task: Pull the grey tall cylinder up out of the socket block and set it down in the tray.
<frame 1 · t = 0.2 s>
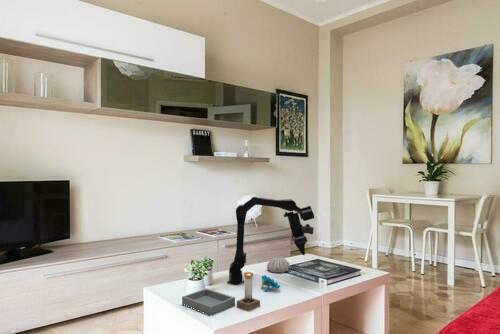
hand: (302, 252, 182), 15 cm above the table, tool pointing down, fingers open, 9 cm apart
socket block: (248, 306, 150), on the table
tray: (208, 305, 152), on the table
blue irregular piece: (269, 290, 172), on the table
grey tall cylinder: (248, 290, 150), in the socket block
sea urchin shell: (278, 271, 204), on the table
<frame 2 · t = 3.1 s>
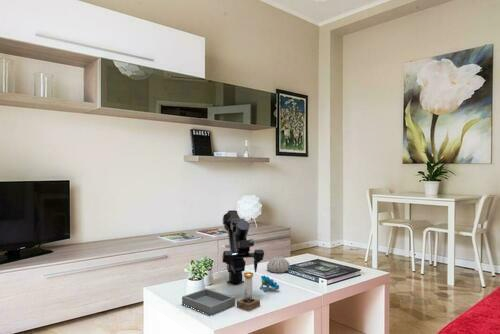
hand: (245, 272, 156), 13 cm above the table, tool tilted 45°, fingers open, 9 cm apart
nothing on the table moved.
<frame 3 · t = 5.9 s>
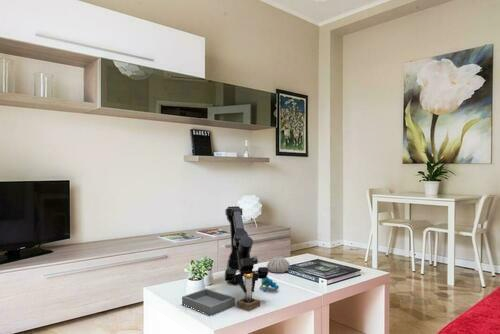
hand: (249, 292, 149), 7 cm above the table, tool tilted 45°, fingers closed on grey tall cylinder, 3 cm apart
grey tall cylinder: (248, 290, 150), in the socket block, touching gripper
everything else where it was.
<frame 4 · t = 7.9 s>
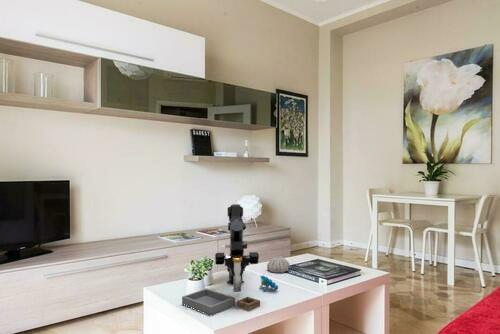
hand: (237, 276, 148), 13 cm above the table, tool tilted 45°, fingers closed on grey tall cylinder, 3 cm apart
grey tall cylinder: (237, 274, 150), point 14 cm above the table, touching gripper
everything else where it was.
when the fingers open (9 cm above the table, at t = 10.2 s): grey tall cylinder drops 2 cm, resting on tray.
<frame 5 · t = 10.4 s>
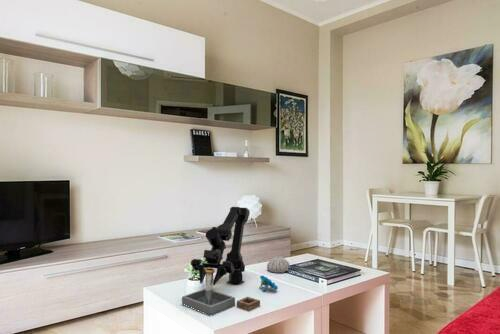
hand: (207, 283, 150), 10 cm above the table, tool tilted 45°, fingers open, 6 cm apart
grey tall cylinder: (209, 286, 152), in the tray, point 8 cm above the table, tilted 5°
everything else where it was.
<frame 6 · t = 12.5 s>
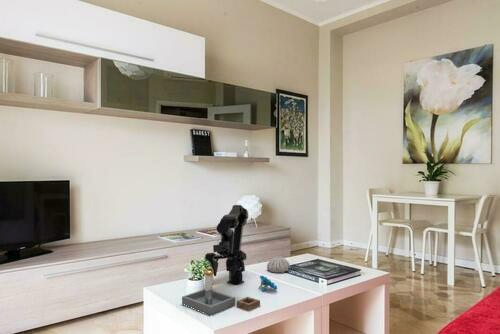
hand: (223, 275, 156), 11 cm above the table, tool tilted 30°, fingers open, 9 cm apart
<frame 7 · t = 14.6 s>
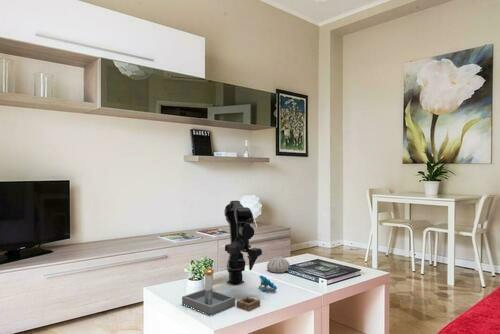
hand: (243, 268, 166), 12 cm above the table, tool pointing down, fingers open, 9 cm apart
at the end: grey tall cylinder inside the target area on the tray (0.0 cm from its centre), point 7.8 cm above the tray's base; grey tall cylinder touching tray; the gripper is holding nothing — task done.
